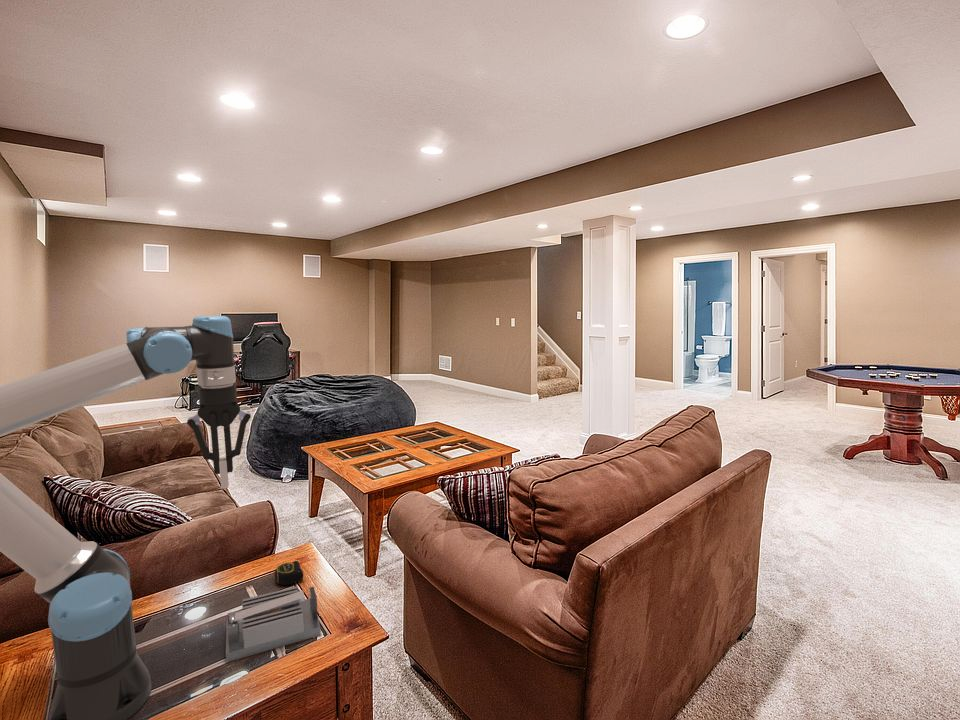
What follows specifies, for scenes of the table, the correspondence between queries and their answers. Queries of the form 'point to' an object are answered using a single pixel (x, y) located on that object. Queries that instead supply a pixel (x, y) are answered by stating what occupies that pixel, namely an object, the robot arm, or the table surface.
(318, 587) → the table surface
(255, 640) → the heatsink
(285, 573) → the tape measure
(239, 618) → the grey flat bar
